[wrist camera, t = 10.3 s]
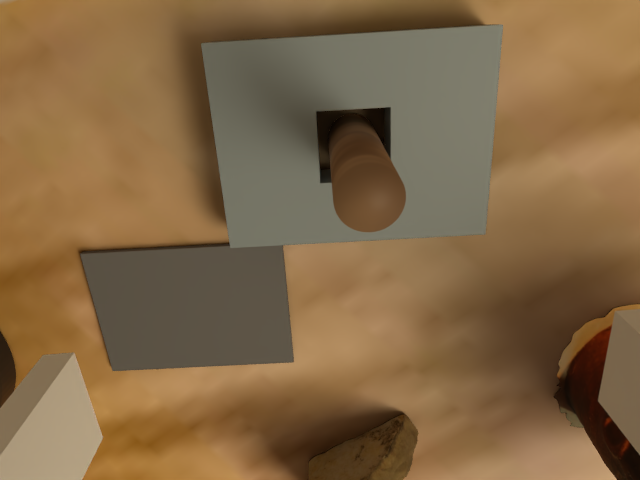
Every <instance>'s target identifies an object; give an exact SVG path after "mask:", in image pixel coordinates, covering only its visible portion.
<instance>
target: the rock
mask: <svg viewBox="0 0 640 480" xmlns="http://www.w3.org/2000/svg"><path fill="white" fill-rule="evenodd" d="M417 436H418V431H417V429H416V428H415V426H414V425H413V424H412V422H411V421H410V419H409V418H408V417H407V416H406V415H400V416H398V417H395V418H393V419H391V420H389V421H388V422H386V423H384V424H383V425H381V426H378V427H376V428H374V429H372V430H370V431H367V432H366V433H365V434H363V435H360V436H359V437H357V438H355V439H350V440H347V441H345V442H344V443H342V444H340V445H337V446H335V447H334V448H332V449H330V450H328V451H327V452H326V453H324V454H320V455H317V456H315V457H314V458H312V459H311V460H310V461H309V463H308V475H309V480H403V479H404V478H405V477H406V476H407V474H408V472H409V470H410V467H411V464H412V459H413V452H414V449H415V446H416V444H417Z"/></svg>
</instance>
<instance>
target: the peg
mask: <svg viewBox="0 0 640 480" xmlns="http://www.w3.org/2000/svg"><path fill="white" fill-rule="evenodd" d="M328 145H329V157H330V169H331V181H332V193H333V204H334V208H335V211H336V214H337V215H338V217H339V218H340V220H341V221H342V222H343V223H344V224H345V225H347V226H348V227H350V228H351V229H354V230H356V231H360V232H376V231H380V230H383V229H385V228H387V227H389V226H390V225H392V224H393V223H394V222H395V221H396V220H397V219H398V218H399V216H400V215H401V213H402V211H403V209H404V206H405V202H406V191H405V187H404V184H403V182H402V180H401V178H400V176H399V174H398V172H397V171H396V169H395V167H394V165H393V163H392V161H391V159H390V158H389V156H388V154H387V152H386V150H385V148H384V146H383V144H382V143H381V141H380V139H379V137H378V135H377V133H376V131H375V129H374V128H373V126H372V124H371V123H370V121H369V120H368V119H366V118H365V117H364V116H361V115H359V114H346V115H343V116H341V117H339V118H338V119H336V120H335V121H334V122H333V124H332V125H331V127H330V129H329V133H328Z"/></svg>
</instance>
